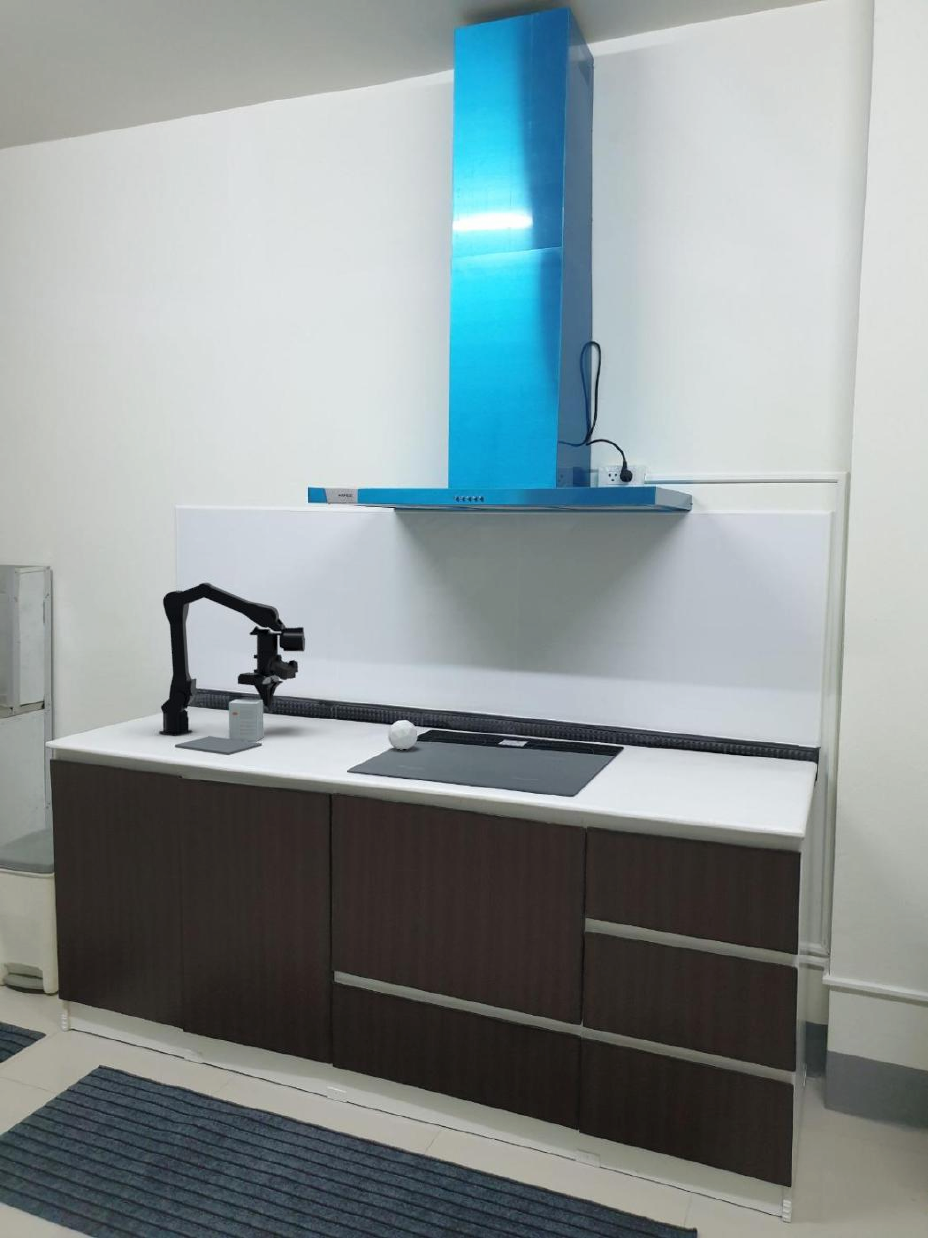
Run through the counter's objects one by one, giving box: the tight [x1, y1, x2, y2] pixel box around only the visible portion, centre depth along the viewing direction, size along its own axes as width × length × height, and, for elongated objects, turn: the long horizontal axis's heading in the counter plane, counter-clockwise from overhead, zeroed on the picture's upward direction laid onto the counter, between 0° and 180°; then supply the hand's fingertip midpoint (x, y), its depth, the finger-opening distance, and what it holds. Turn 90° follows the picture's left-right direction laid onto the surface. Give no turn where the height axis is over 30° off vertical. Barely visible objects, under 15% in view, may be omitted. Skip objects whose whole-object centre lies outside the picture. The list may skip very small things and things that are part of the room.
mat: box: [174, 735, 263, 756], centre depth 251 cm, size 18×13×1 cm
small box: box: [228, 698, 265, 742], centre depth 261 cm, size 8×6×10 cm
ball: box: [387, 719, 418, 751], centre depth 251 cm, size 8×8×8 cm
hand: (267, 706), depth 268 cm, fingers closed
